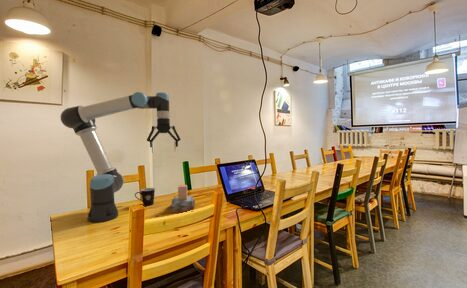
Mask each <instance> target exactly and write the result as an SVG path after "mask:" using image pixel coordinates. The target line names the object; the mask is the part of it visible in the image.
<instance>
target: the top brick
mask: <svg viewBox="0 0 467 288" xmlns="http://www.w3.org/2000/svg"><path fill="white" fill-rule="evenodd" d="M177 192H178V194H177V195H178V200H187V196H188V184H180V185H178V186H177Z"/></svg>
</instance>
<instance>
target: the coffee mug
mask: <svg viewBox="0 0 467 288" xmlns="http://www.w3.org/2000/svg"><path fill="white" fill-rule="evenodd" d="M155 191H156V188H154V187H145V188H141V189H140V191H138V192H136V193H134V196H135V198H136V199H137V200H139V201H141V202H142V205H143V204H144V205H145V207H149V206H153V205H155V202H154V201H155V193H156V192H155ZM138 194H140V195H141V198H139V197H137V195H138ZM144 205H143V206H144Z"/></svg>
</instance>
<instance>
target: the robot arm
mask: <svg viewBox="0 0 467 288" xmlns="http://www.w3.org/2000/svg"><path fill="white" fill-rule="evenodd" d="M133 109H138V110H139V109H141V110H144V109H147V110H149V109H150V110H151V109H154V110H155V109H156V118H157V119H156V122H157V123H156V126H155V125H152V126H151V130H150V133H148V136H147V138H146V142H149V147H150V148H151V153H152V154H155V142H154V140H155V139H156V138H157V137H158V136H159V134H169V136H170V137H171V138H172V140H174V143H173V146H174V150H173V151H174V153H177V148H178V147H179V141H181V138H180V135H179V134H178V132H177V130H176V126H175V125H171V123H170V122H171V121H170V115H171V114H170V96H169V93H167V92H156V94H155V95H154V96H150V95H146V94H145V93H144V92H142V91H141V92H140V91H135V92H134V93H133V94H130V95H127V96H126V95H125V96H123V97H118V98H114V99H113V98H112V99H110V100H105V101H102V102H98V103H93V104H90V105H85V106H83V105H77V106H72V107H67V108H65V109H63V111H62V112H61V114H60V121H61V123H62V125H64V126H65V127H66V128H68V129H72V130H73V131H74V134H75V135H76V136H79V137H80V140H81V141H82V143H83V146H84V148H85V150H86V152H87V154H88V156H89V158H90V160H91V162H92V165H93V166H94V169H95V171H96V175H94V176H93V177H91V178H90V179H89V195H90V207H89V211H88V214H87V221H88V222H90V223H103V222H108V221H111V220H114V219H116V218H118V217H119V211H118V207H117V206H116V203H115V193H117V192H119V191H120V190H121V189H122V187H123V186H124V183H125V182H124V181H125V180H124V177H123V175H122V174H121V173H120V172H118V170H117V168H116V167H114V166H112V164H111V162H110V160H109V157H108V155H107V153H106V152H105V151H106V150H105V149H104V147H103V145H102V142H101V141H100V138H99V136H98V133H97V132H96V131H97V125H96V119H99V118H102V117H106V116H111V115H113V114H118V113H122V112H126V111H129V110H133ZM155 130H157V131H156V133H155V134H154V132H155ZM170 130H173V133H174V134H173V133H172V132H171V131H170ZM153 134H154V135H153Z"/></svg>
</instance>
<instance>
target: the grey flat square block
mask: <svg viewBox="0 0 467 288" xmlns="http://www.w3.org/2000/svg"><path fill="white" fill-rule="evenodd" d="M195 207H196V200H195V199H194V195H187V200H178V196H177V195H176V196H174V197H173V199H172V200H171V204H170V205H169V213H170V212H171V213H186V212H185V211H190V210H193V209H194V210H195Z"/></svg>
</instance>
